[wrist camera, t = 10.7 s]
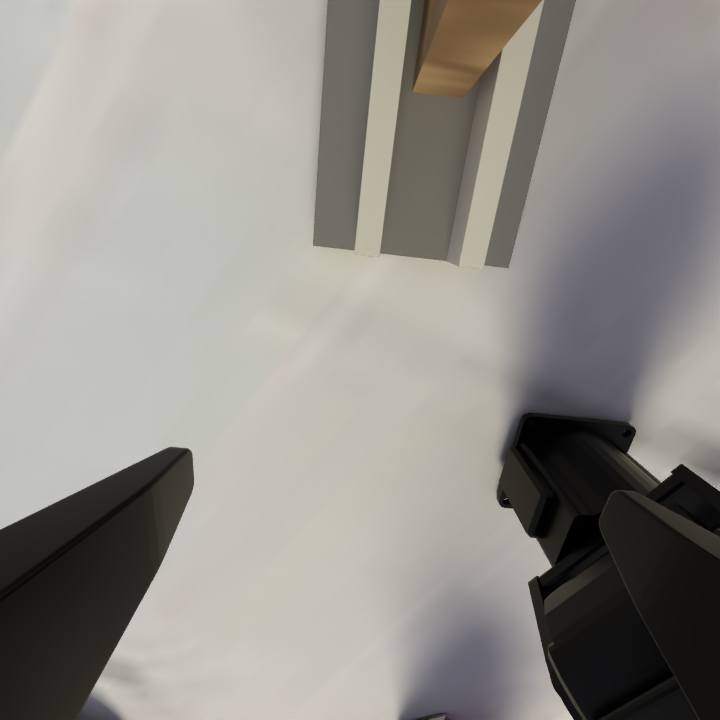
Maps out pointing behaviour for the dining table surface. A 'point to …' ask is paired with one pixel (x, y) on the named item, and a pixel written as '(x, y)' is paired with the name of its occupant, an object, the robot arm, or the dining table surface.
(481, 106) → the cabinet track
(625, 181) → the dining table surface
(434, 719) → the candy bar box
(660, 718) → the robot arm
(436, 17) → the door panel
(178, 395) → the dining table surface
